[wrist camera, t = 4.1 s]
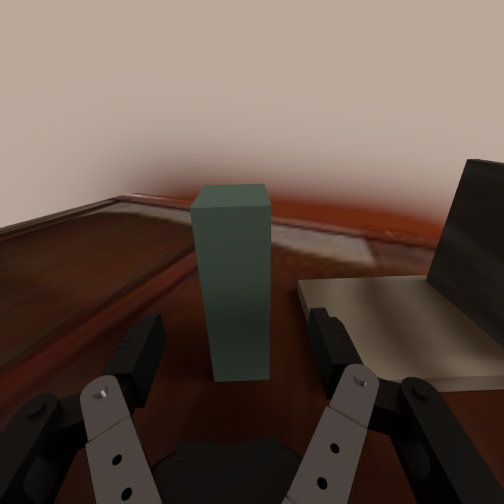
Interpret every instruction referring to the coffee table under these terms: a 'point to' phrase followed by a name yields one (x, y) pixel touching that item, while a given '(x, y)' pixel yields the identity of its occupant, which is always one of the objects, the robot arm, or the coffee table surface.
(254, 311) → the tall sage green prism
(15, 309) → the coffee table surface
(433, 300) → the desktop book rack
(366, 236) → the coffee table surface
